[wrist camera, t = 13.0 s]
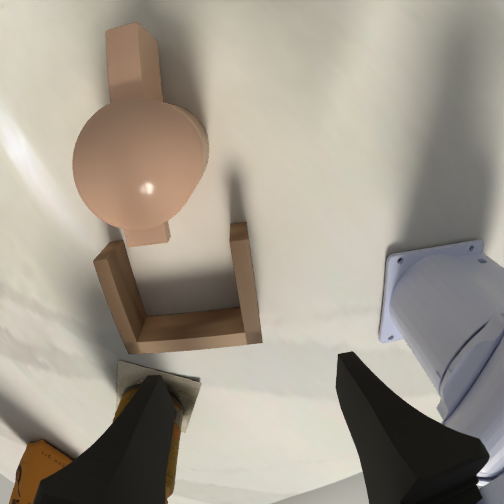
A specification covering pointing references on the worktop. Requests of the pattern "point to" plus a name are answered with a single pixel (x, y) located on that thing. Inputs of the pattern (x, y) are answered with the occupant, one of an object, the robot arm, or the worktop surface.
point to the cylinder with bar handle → (138, 145)
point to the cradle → (186, 324)
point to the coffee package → (36, 470)
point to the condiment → (177, 389)
